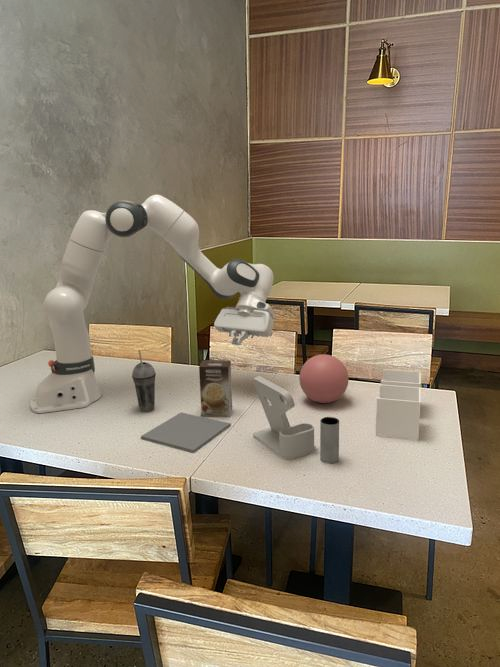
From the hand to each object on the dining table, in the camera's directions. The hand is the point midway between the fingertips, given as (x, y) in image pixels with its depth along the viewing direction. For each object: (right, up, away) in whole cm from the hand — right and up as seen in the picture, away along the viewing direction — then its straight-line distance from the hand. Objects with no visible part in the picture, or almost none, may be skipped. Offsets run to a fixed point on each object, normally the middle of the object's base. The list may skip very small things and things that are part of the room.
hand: (235, 344), depth 157 cm
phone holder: (+14, -26, -26) cm, 39 cm away
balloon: (+30, -18, +2) cm, 35 cm away
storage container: (+48, -22, -14) cm, 55 cm away
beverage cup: (-28, -21, -2) cm, 35 cm away
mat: (-13, -25, -18) cm, 33 cm away
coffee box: (-6, -21, -6) cm, 23 cm away
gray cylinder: (+24, -28, -35) cm, 51 cm away
